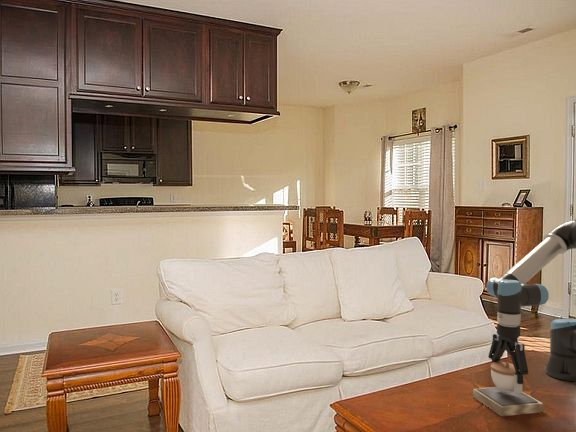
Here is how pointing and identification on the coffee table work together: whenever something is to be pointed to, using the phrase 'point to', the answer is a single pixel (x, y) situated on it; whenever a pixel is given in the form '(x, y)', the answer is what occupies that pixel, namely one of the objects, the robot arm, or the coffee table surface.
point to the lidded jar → (503, 376)
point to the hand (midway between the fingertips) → (506, 386)
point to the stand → (507, 401)
